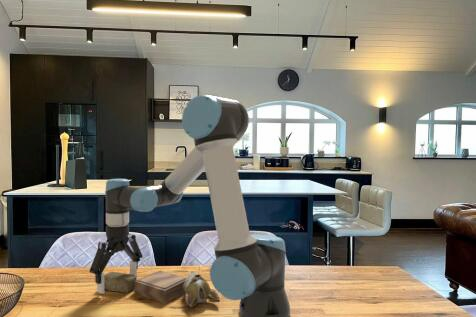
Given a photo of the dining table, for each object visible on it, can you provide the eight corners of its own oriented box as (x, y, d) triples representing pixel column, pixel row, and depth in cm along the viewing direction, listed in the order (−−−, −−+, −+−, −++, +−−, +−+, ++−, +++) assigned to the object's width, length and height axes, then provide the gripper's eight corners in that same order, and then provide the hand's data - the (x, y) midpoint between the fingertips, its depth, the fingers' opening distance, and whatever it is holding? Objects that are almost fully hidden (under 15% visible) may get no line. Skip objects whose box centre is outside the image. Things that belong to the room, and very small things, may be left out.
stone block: (128, 294, 119) (128, 279, 118) (99, 290, 122) (99, 276, 122) (138, 287, 124) (138, 273, 124) (109, 283, 127) (109, 270, 127)
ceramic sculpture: (207, 264, 123) (222, 282, 109) (206, 288, 124) (221, 309, 110) (176, 268, 119) (188, 288, 105) (176, 293, 120) (188, 316, 106)
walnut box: (189, 290, 122) (189, 278, 122) (164, 303, 112) (164, 290, 112) (159, 281, 130) (159, 269, 129) (134, 292, 120) (134, 280, 119)
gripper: (138, 216, 134) (138, 272, 135) (77, 230, 113) (78, 295, 114) (152, 219, 130) (152, 276, 131) (92, 233, 109) (92, 301, 110)
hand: (117, 285), depth 122 cm, fingers open, 13 cm apart
